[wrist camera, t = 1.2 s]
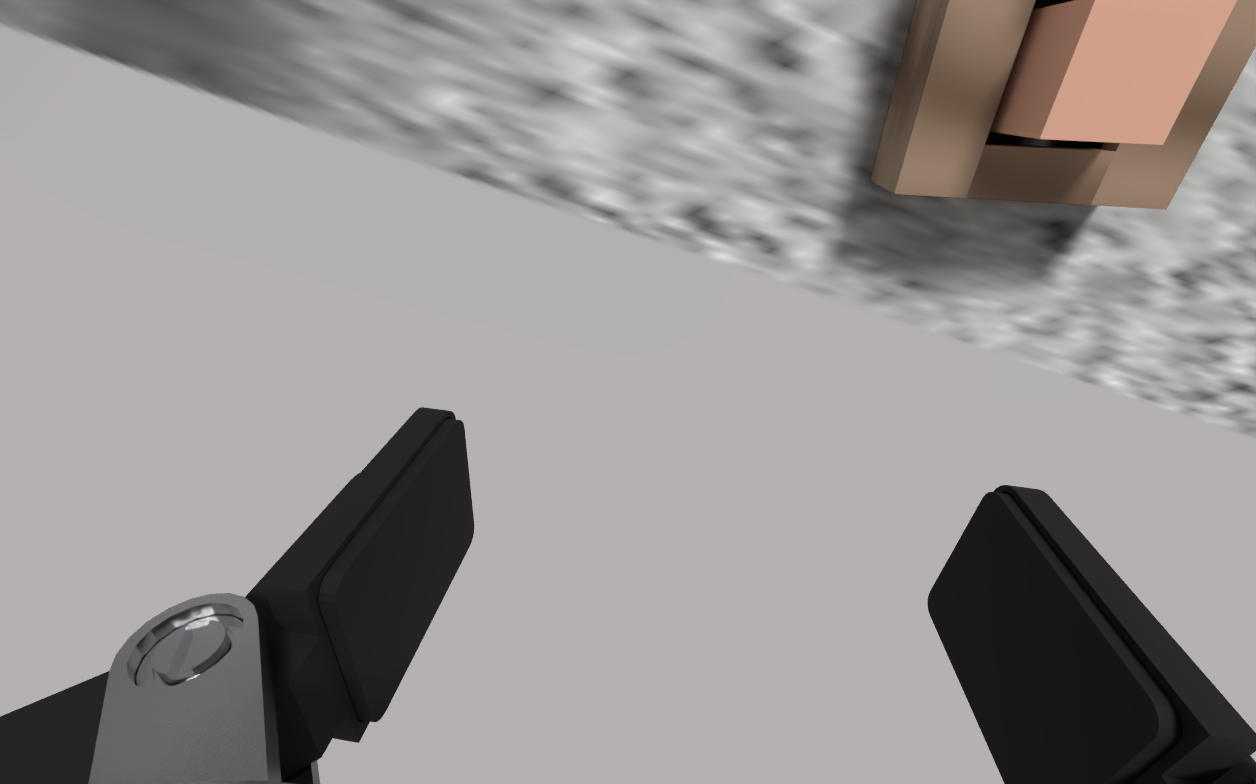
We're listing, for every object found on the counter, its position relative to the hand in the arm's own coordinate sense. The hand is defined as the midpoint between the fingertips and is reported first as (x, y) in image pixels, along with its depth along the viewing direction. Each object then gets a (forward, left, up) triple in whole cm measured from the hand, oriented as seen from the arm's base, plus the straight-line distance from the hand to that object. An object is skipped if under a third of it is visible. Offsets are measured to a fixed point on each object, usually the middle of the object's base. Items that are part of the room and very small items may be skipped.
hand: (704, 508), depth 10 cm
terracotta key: (-8, +15, -21) cm, 27 cm away
